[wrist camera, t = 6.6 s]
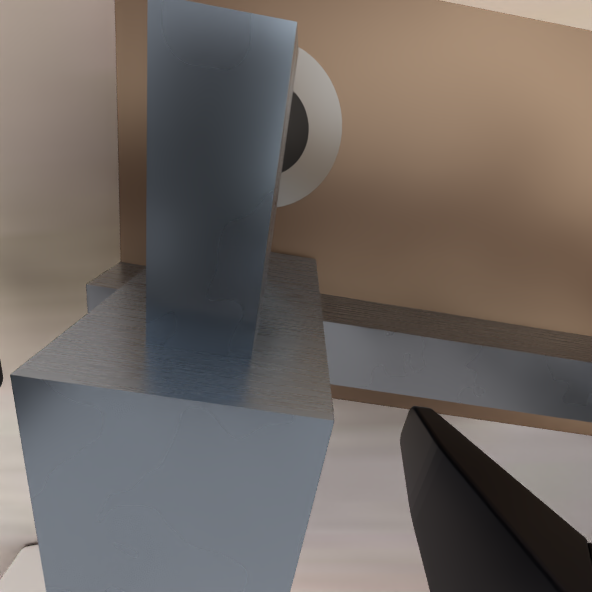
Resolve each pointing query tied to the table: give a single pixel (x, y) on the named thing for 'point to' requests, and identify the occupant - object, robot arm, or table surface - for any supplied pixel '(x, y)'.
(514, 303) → the hole plate
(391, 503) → the table surface
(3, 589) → the jar
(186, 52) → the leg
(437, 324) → the beam
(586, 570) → the robot arm
